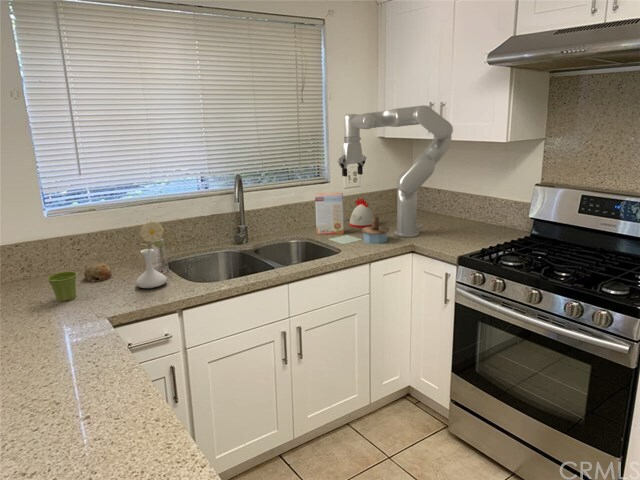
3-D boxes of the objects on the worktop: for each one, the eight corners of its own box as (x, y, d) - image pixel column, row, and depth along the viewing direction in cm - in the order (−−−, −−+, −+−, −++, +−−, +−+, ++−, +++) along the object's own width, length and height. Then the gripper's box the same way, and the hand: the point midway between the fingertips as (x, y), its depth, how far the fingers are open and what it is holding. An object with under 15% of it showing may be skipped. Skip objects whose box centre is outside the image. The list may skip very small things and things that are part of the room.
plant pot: (69, 304, 166) (65, 280, 163) (45, 303, 167) (40, 279, 165) (86, 294, 175) (82, 271, 172) (63, 293, 176) (59, 271, 174)
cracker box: (344, 232, 250) (343, 192, 244) (343, 235, 244) (342, 194, 239) (317, 232, 251) (316, 193, 246) (316, 235, 246) (314, 195, 240)
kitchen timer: (359, 221, 273) (359, 195, 269) (379, 224, 264) (379, 197, 260) (344, 226, 263) (344, 199, 259) (365, 229, 254) (364, 201, 250)
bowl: (376, 236, 239) (376, 227, 238) (391, 241, 230) (391, 231, 229) (359, 240, 233) (359, 230, 232) (374, 245, 224) (374, 235, 223)
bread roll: (85, 290, 189) (81, 276, 184) (87, 272, 196) (83, 258, 191) (112, 287, 191) (108, 272, 186) (113, 269, 199) (110, 255, 194)
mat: (347, 235, 243) (347, 234, 243) (362, 240, 233) (362, 239, 233) (328, 239, 236) (328, 239, 236) (342, 244, 227) (342, 244, 227)
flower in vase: (130, 290, 177) (120, 225, 170) (145, 280, 187) (136, 217, 181) (163, 291, 175) (155, 225, 168) (176, 280, 186) (169, 217, 179)
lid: (376, 226, 239) (376, 213, 237) (394, 231, 229) (394, 217, 227) (356, 230, 232) (356, 217, 230) (374, 235, 222) (374, 221, 220)
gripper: (360, 138, 240) (361, 172, 245) (333, 141, 231) (334, 176, 235) (370, 139, 234) (370, 174, 239) (342, 141, 225) (343, 177, 229)
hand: (352, 175), depth 237 cm, fingers open, 9 cm apart
